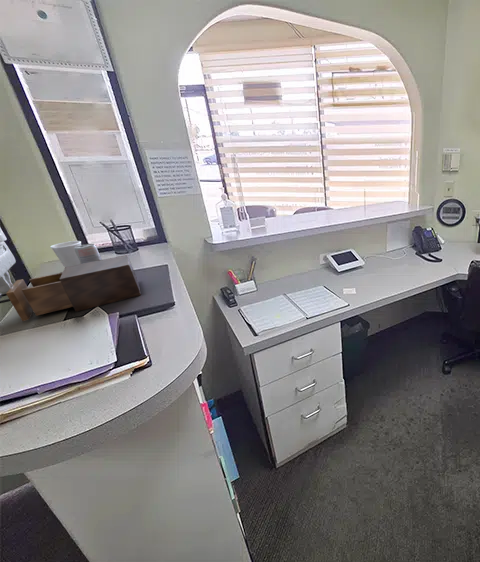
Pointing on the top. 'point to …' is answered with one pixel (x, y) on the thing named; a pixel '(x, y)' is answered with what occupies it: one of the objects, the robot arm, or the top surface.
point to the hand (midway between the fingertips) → (8, 290)
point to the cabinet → (100, 282)
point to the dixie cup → (67, 252)
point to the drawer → (38, 296)
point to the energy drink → (87, 253)
